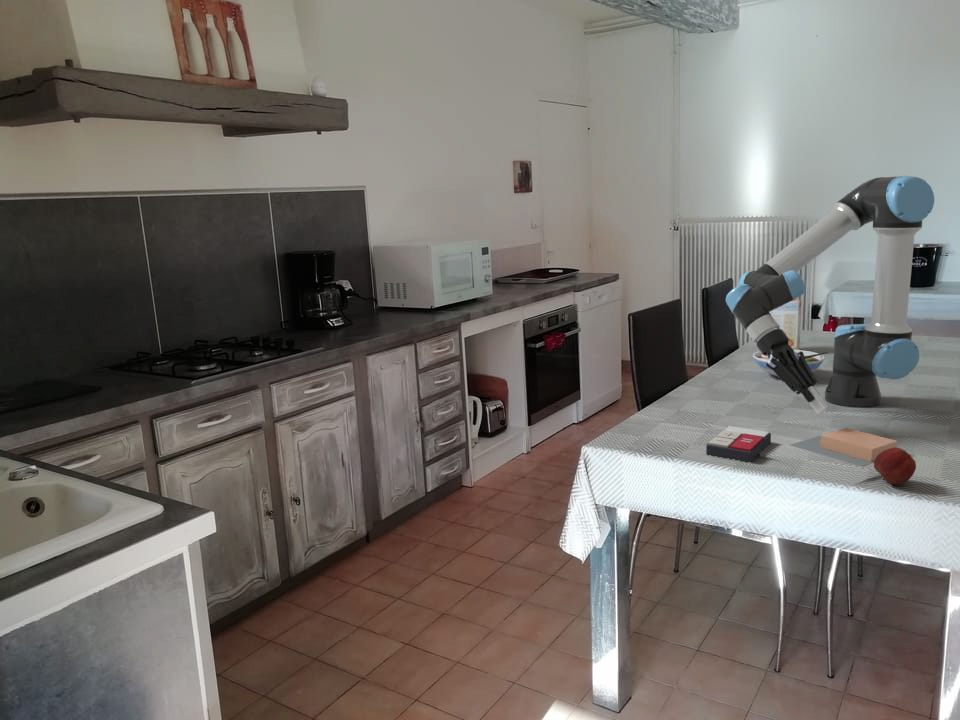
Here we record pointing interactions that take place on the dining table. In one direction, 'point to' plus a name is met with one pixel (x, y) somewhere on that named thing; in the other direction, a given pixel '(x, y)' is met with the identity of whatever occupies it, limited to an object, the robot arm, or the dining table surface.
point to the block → (856, 443)
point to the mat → (829, 451)
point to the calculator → (738, 444)
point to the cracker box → (789, 321)
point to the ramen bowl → (811, 357)
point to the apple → (895, 466)
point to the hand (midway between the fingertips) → (823, 410)
